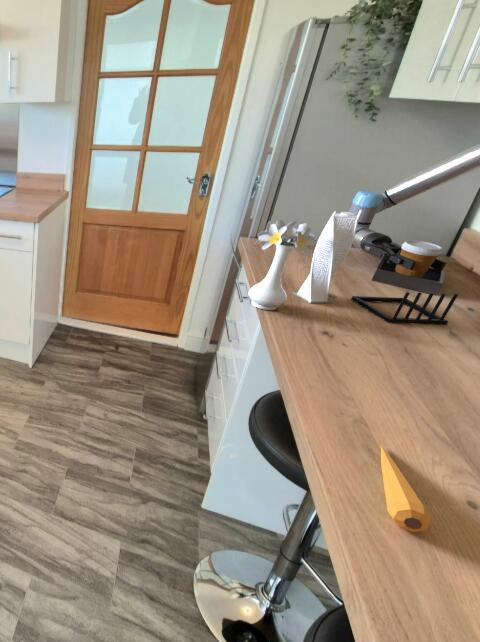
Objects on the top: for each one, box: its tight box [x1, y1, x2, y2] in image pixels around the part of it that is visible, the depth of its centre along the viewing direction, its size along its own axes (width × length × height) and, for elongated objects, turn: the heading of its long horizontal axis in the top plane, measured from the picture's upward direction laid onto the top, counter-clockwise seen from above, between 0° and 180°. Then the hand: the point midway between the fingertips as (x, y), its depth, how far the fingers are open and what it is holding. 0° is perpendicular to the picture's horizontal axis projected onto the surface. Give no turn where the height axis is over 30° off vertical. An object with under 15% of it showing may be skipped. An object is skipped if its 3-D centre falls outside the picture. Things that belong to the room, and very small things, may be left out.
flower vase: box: [247, 218, 317, 311], centre depth 120 cm, size 13×18×25 cm
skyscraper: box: [292, 210, 362, 304], centre depth 123 cm, size 8×8×28 cm
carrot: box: [380, 445, 432, 533], centre depth 68 cm, size 20×4×4 cm, turn 147°
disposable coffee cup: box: [394, 239, 443, 278], centre depth 138 cm, size 10×10×12 cm
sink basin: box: [371, 259, 445, 296], centre depth 140 cm, size 15×15×4 cm
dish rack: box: [350, 291, 459, 326], centre depth 120 cm, size 15×14×9 cm
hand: (427, 266), depth 134 cm, fingers closed on disposable coffee cup, 8 cm apart
